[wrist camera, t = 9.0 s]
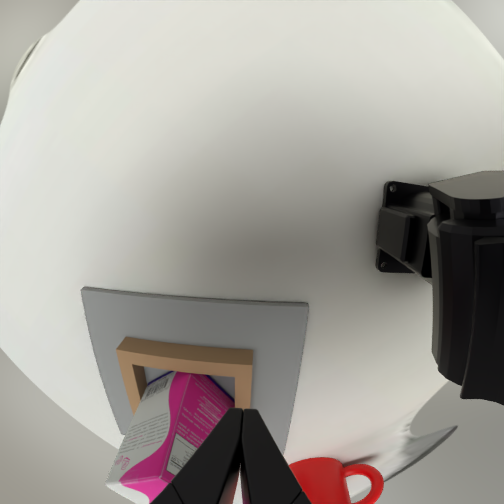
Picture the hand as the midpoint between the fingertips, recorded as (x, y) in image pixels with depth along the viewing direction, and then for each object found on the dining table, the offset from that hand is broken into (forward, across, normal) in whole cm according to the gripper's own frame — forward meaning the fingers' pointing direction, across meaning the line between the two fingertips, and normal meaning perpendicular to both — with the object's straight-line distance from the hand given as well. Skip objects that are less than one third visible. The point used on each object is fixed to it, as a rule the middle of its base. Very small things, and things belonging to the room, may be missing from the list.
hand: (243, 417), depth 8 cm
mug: (+13, -10, +25) cm, 30 cm away
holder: (+13, +5, +11) cm, 18 cm away
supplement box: (+13, +5, +11) cm, 17 cm away
